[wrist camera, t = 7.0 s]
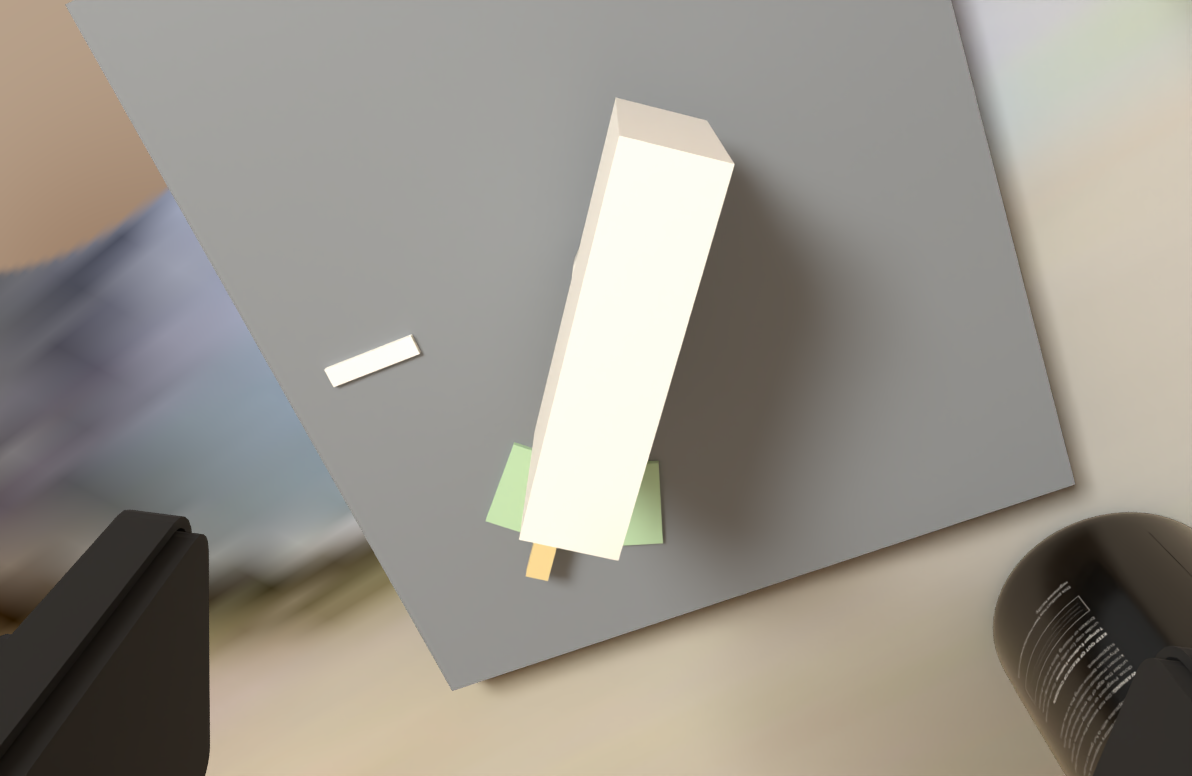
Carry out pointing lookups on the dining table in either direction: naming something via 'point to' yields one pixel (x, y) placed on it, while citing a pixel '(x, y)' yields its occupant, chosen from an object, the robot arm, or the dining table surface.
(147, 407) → the dining table surface
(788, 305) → the slate dial board
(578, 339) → the white ice pop
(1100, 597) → the supplement bottle
